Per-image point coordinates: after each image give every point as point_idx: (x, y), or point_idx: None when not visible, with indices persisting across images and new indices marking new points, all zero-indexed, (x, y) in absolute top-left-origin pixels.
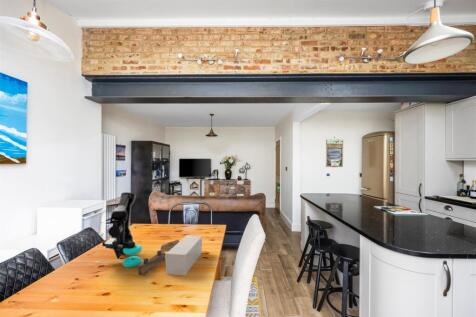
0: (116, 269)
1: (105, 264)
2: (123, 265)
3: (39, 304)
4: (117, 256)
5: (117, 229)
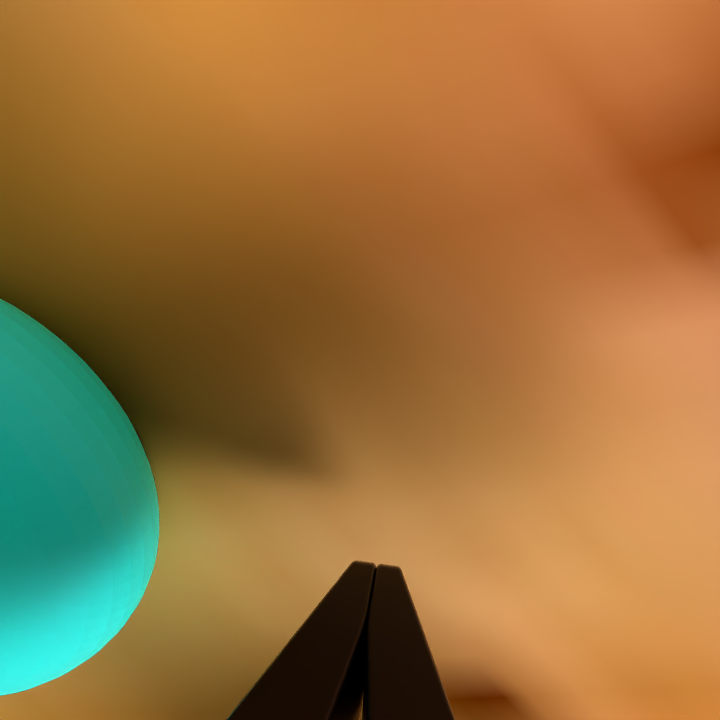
0: (52, 80)
1: (668, 305)
2: (27, 315)
3: None
4: (365, 626)
5: None
